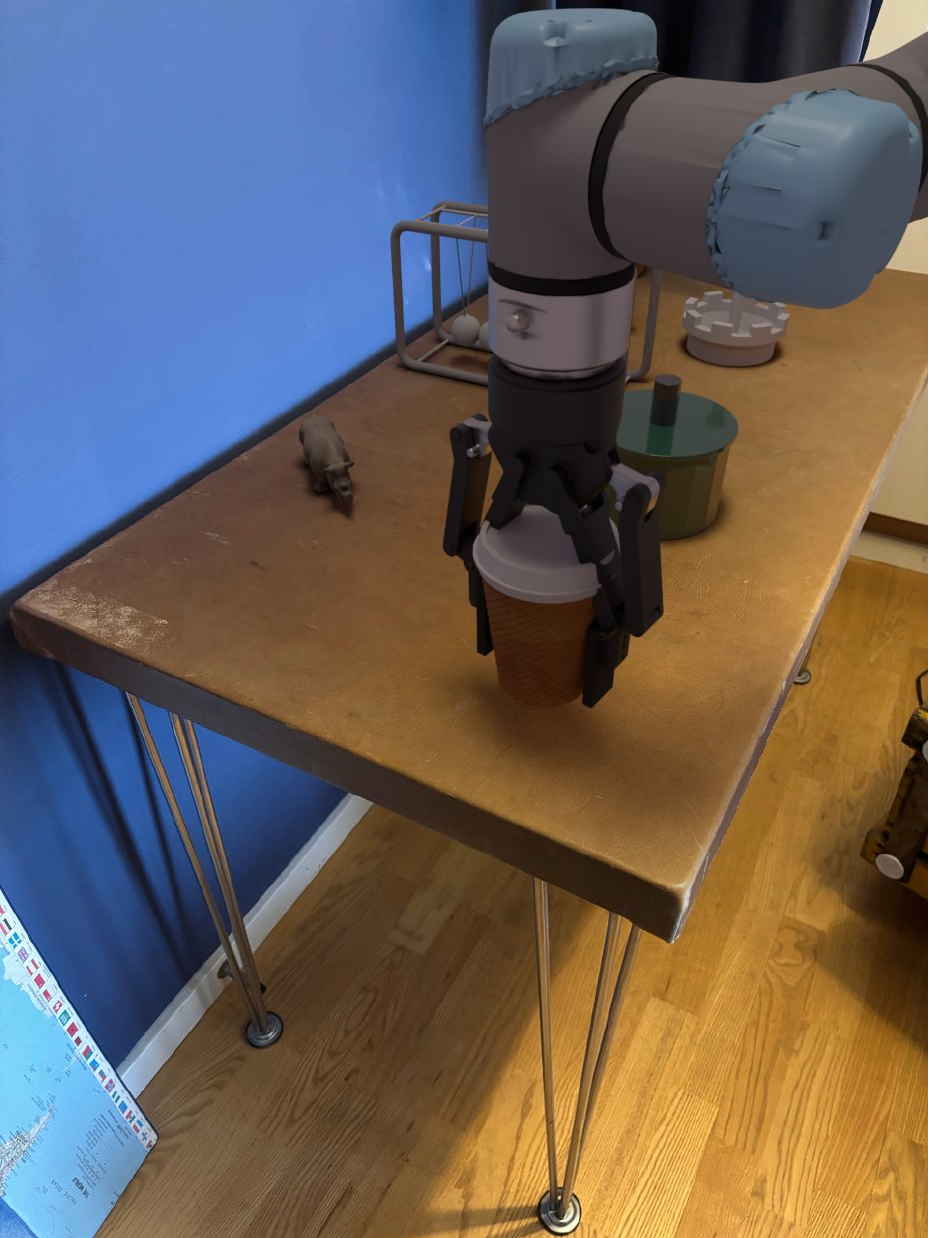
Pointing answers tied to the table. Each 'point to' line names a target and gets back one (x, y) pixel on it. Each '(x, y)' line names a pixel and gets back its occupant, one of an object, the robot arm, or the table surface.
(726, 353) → the flag stand
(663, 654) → the table surface
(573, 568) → the disposable coffee cup
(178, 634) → the table surface
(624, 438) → the pot lid
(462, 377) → the newton's cradle
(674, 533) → the pot
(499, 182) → the robot arm
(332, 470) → the rhino figurine
